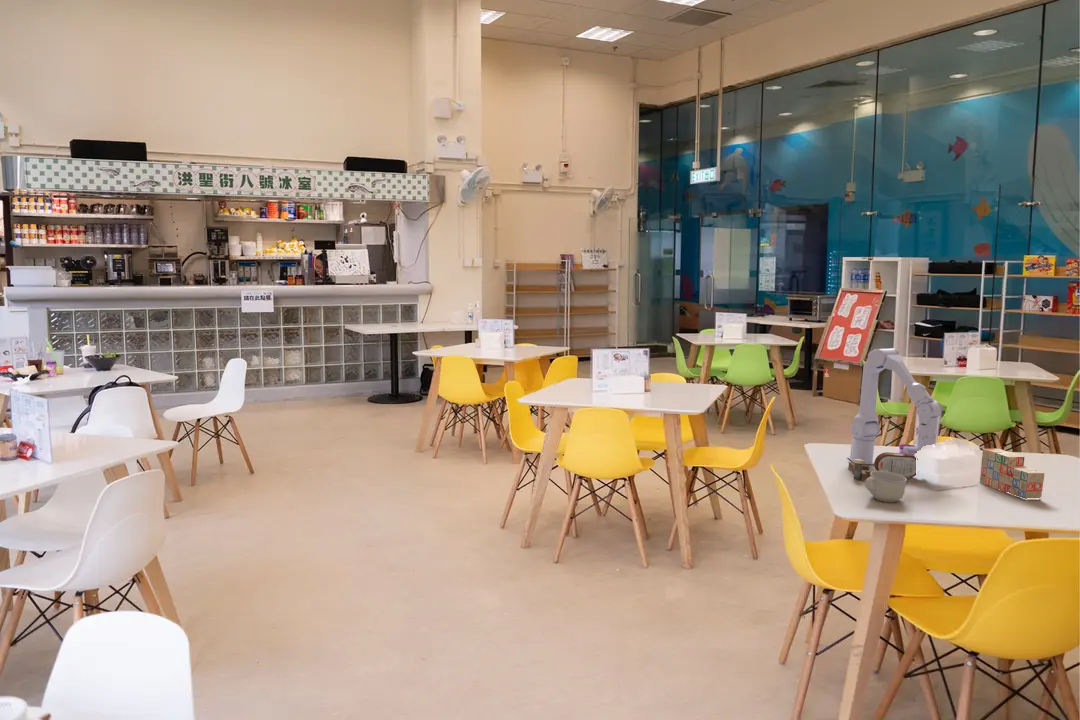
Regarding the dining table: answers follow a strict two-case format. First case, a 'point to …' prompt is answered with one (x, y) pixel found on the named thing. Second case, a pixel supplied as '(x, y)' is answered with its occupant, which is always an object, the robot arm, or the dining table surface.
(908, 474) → the tin
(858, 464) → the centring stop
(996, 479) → the stack of blocks
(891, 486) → the teacup
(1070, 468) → the dining table surface
